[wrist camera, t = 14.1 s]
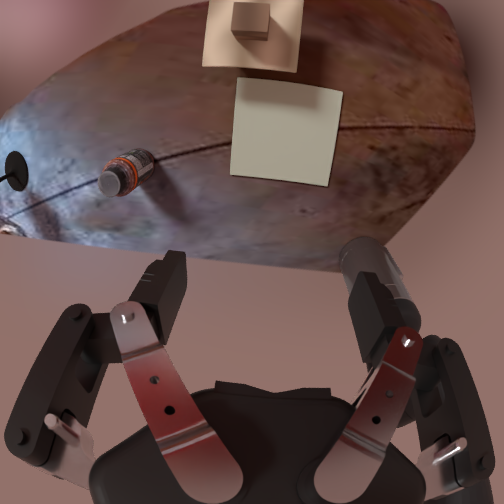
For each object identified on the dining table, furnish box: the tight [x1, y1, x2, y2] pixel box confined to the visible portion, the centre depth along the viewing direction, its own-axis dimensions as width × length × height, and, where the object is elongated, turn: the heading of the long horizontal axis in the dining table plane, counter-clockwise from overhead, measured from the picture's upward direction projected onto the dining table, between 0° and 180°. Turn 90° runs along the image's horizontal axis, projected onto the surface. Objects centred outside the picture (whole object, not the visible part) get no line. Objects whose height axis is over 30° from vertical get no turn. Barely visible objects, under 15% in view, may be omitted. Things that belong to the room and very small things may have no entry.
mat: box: [230, 77, 343, 186], centre depth 38 cm, size 16×16×1 cm
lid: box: [202, 0, 304, 73], centre depth 23 cm, size 12×12×6 cm
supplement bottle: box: [98, 149, 154, 197], centre depth 38 cm, size 6×6×11 cm
